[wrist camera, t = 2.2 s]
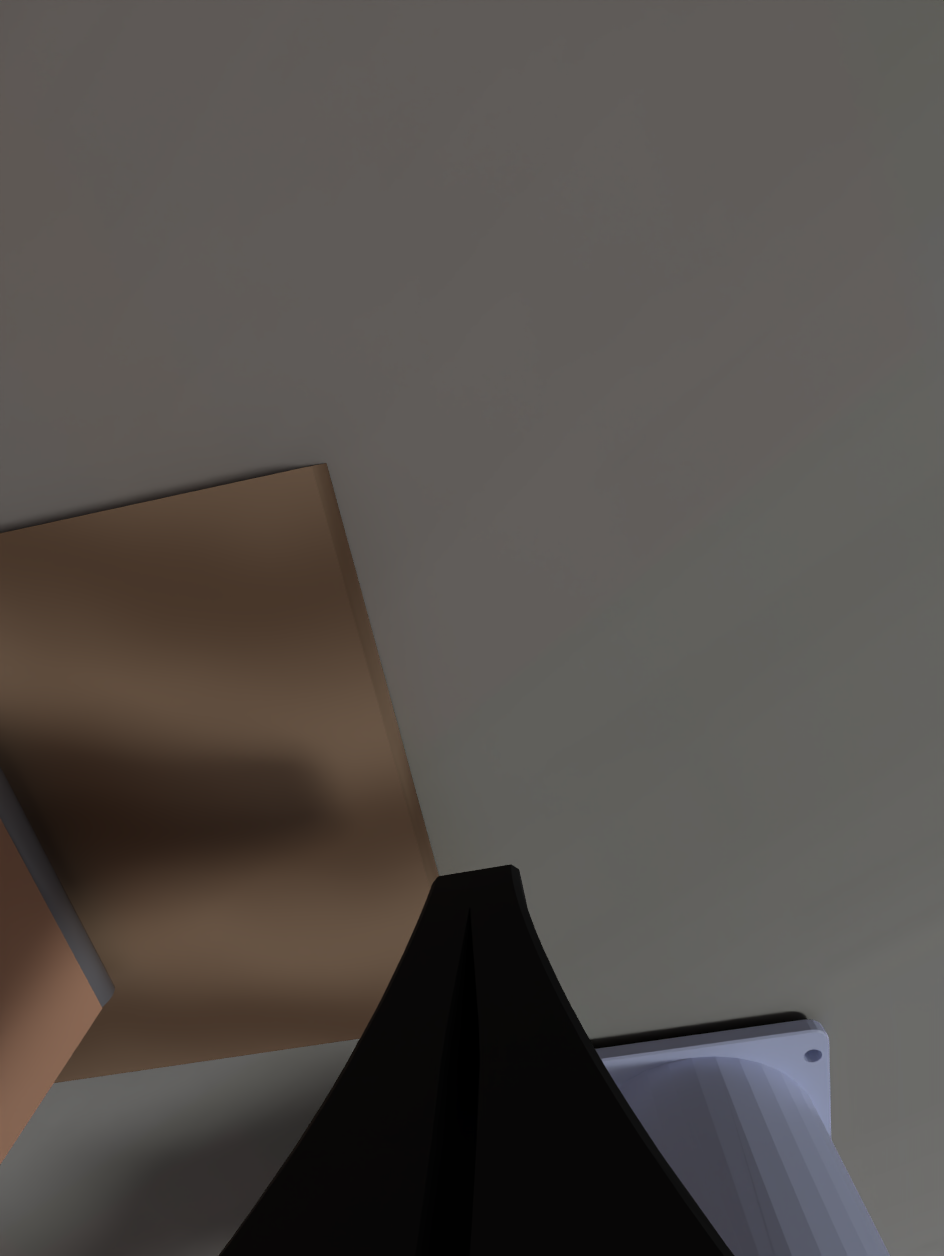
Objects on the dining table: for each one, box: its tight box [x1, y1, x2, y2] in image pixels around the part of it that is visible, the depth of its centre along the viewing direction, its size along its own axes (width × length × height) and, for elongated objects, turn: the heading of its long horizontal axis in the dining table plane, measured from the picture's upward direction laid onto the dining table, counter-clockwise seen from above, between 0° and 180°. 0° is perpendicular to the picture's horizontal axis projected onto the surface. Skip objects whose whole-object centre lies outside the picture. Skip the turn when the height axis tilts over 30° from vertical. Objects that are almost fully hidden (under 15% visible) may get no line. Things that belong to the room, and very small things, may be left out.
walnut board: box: [0, 463, 439, 1083], centre depth 15 cm, size 15×18×1 cm
